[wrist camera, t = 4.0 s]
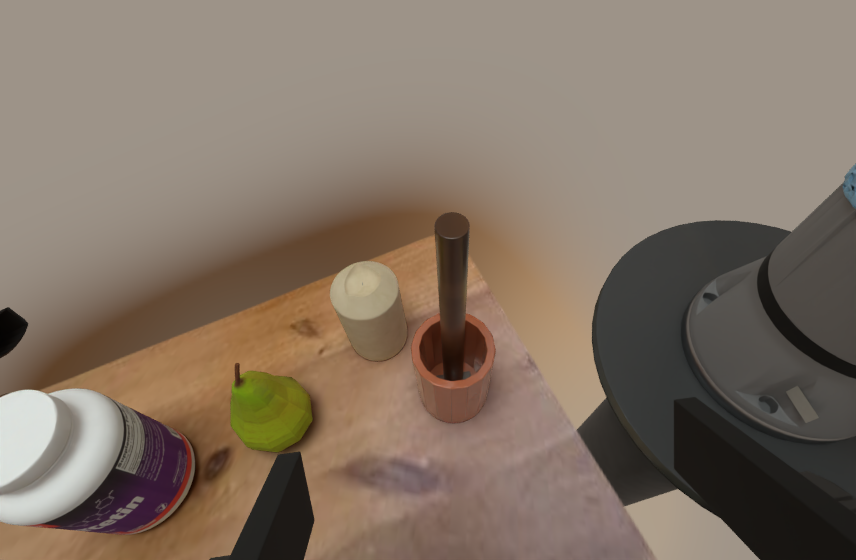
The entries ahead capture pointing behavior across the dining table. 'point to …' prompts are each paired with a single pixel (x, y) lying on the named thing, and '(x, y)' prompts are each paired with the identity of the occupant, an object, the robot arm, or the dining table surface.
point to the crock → (479, 352)
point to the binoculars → (10, 331)
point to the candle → (370, 309)
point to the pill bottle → (88, 463)
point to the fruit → (269, 410)
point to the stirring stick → (452, 290)
